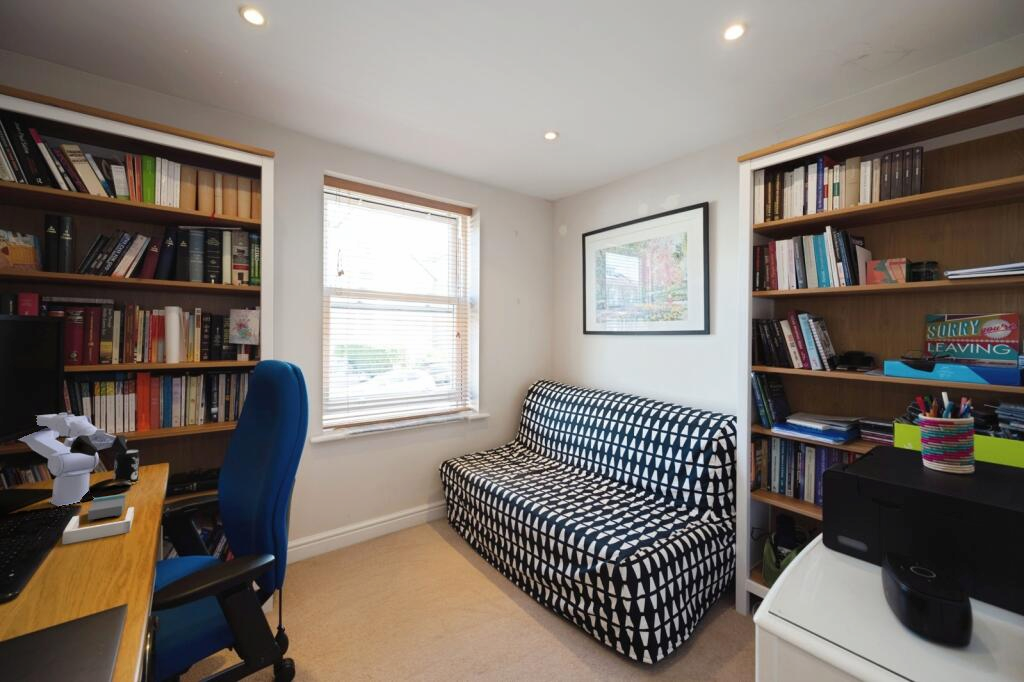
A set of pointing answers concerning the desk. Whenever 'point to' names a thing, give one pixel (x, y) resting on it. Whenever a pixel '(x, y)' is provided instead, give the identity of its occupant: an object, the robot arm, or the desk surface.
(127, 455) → the beverage can
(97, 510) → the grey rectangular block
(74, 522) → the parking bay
